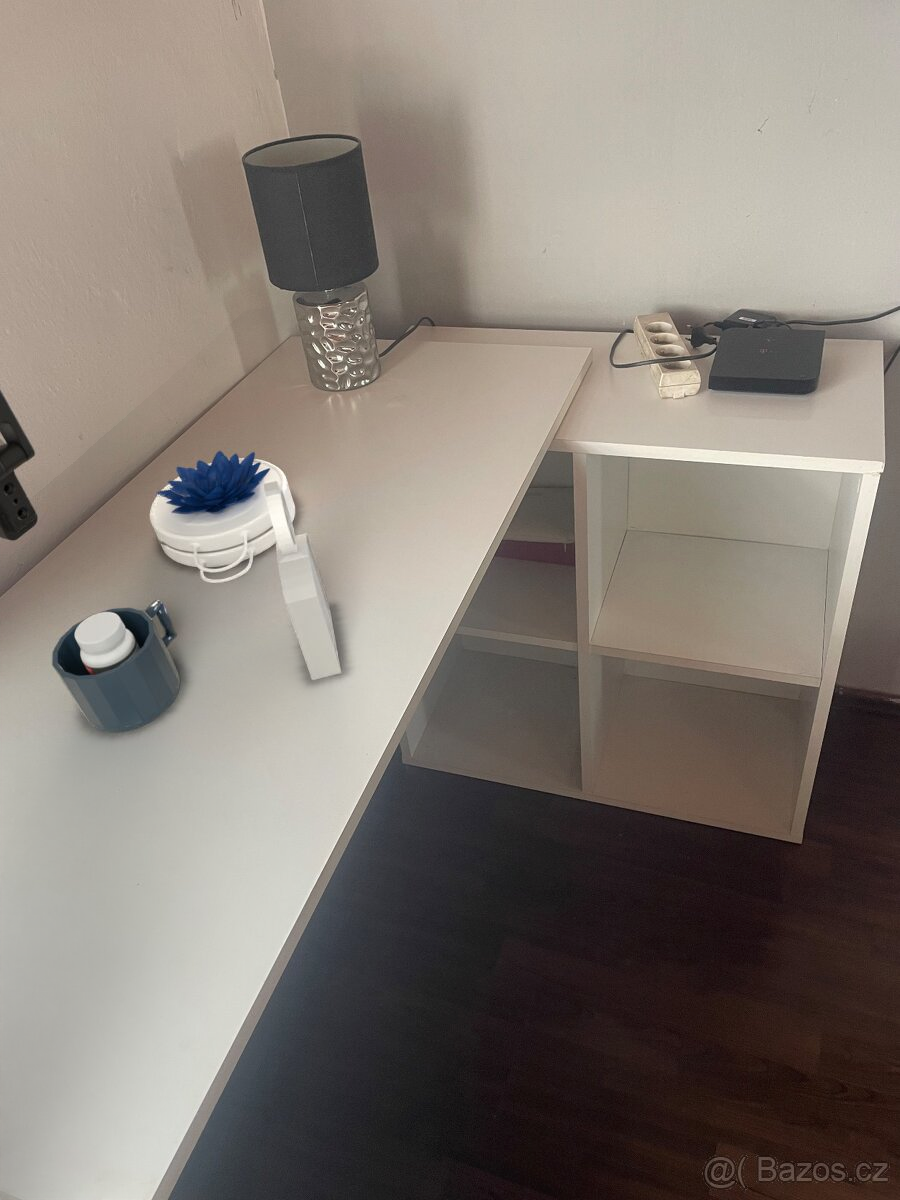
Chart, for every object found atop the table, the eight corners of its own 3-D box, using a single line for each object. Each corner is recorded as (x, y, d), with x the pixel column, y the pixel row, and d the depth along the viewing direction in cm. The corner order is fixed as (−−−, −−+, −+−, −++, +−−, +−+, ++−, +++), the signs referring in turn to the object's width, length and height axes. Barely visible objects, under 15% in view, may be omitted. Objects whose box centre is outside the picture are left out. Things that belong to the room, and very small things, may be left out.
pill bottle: (96, 706, 79) (57, 641, 74) (127, 670, 82) (92, 605, 77) (137, 716, 78) (100, 650, 72) (168, 679, 81) (134, 613, 75)
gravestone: (329, 608, 86) (282, 453, 74) (341, 672, 79) (291, 513, 67) (302, 614, 86) (251, 461, 74) (312, 680, 79) (257, 522, 67)
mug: (137, 743, 76) (105, 689, 71) (64, 718, 80) (30, 665, 75) (216, 653, 83) (192, 599, 79) (147, 634, 87) (120, 581, 82)
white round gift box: (146, 454, 101) (128, 556, 86) (278, 427, 101) (283, 523, 86) (167, 502, 105) (153, 607, 90) (293, 476, 106) (300, 575, 91)
